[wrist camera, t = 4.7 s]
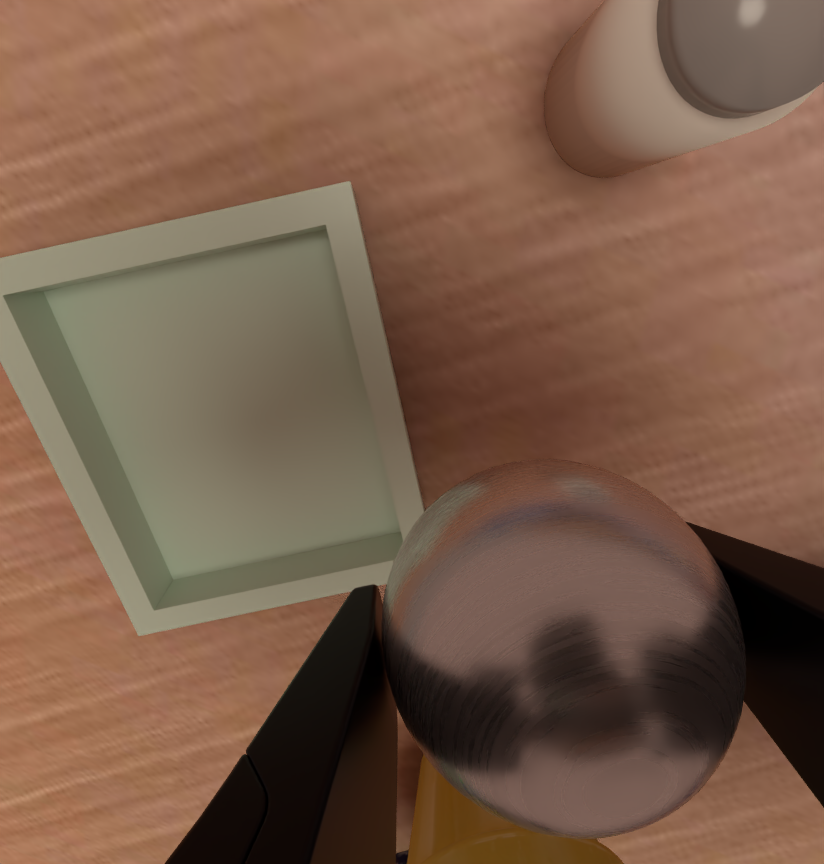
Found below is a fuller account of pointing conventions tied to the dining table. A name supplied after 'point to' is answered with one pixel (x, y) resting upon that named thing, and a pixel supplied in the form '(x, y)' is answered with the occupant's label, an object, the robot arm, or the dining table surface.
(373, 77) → the dining table surface
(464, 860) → the plant pot
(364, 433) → the tray
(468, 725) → the ball
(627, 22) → the shaker
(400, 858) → the storage jar
